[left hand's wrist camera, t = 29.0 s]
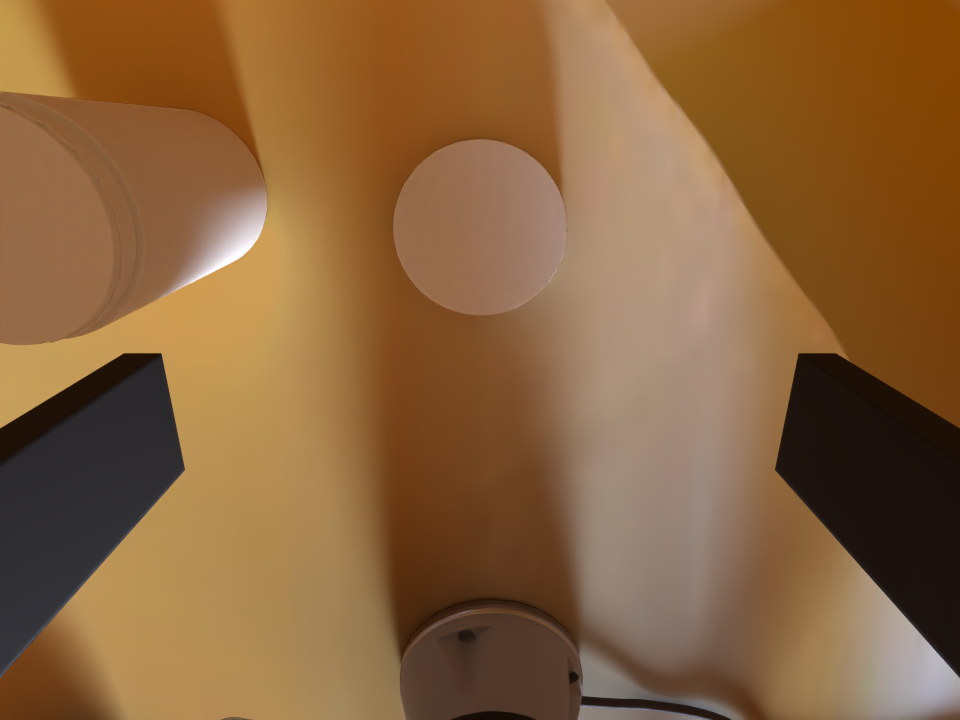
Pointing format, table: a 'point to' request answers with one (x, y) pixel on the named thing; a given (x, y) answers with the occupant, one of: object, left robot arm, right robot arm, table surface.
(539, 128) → the table surface
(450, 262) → the lid
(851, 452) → the left robot arm
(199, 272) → the jar
